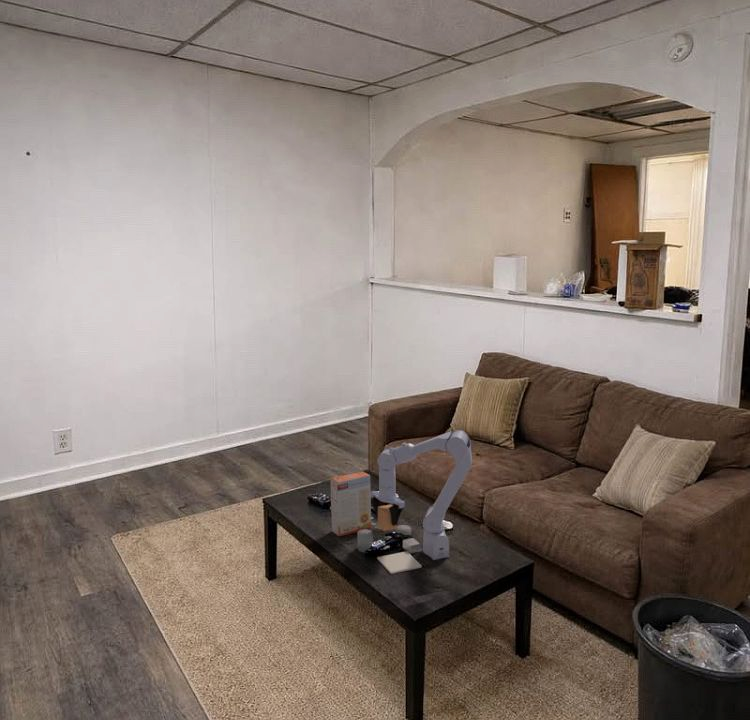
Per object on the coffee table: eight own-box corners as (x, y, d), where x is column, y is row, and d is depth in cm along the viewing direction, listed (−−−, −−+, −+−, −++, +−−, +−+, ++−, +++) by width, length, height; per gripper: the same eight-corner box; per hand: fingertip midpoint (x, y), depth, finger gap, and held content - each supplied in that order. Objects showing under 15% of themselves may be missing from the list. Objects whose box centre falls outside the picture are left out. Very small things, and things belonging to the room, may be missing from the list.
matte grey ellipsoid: (414, 536, 227) (414, 530, 226) (399, 539, 224) (399, 533, 224) (406, 530, 232) (406, 523, 232) (392, 533, 230) (392, 526, 229)
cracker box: (363, 522, 238) (363, 470, 235) (371, 528, 233) (371, 475, 230) (330, 531, 231) (329, 477, 227) (338, 537, 226) (337, 482, 222)
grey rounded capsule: (374, 550, 216) (374, 534, 215) (360, 553, 214) (360, 537, 213) (369, 544, 220) (369, 528, 219) (355, 547, 218) (355, 530, 217)
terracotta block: (396, 528, 217) (396, 509, 216) (383, 531, 215) (383, 511, 214) (390, 523, 221) (390, 504, 220) (377, 525, 219) (377, 506, 218)
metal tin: (419, 551, 215) (419, 543, 215) (409, 554, 213) (409, 546, 213) (412, 545, 220) (412, 537, 219) (402, 548, 218) (402, 540, 217)
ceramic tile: (421, 567, 204) (421, 565, 204) (390, 574, 200) (390, 572, 200) (406, 552, 214) (406, 551, 214) (377, 558, 210) (377, 557, 210)
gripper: (410, 486, 213) (410, 524, 216) (380, 476, 223) (380, 512, 226) (396, 492, 208) (396, 530, 211) (366, 481, 218) (366, 518, 221)
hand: (387, 521), depth 218 cm, fingers closed on terracotta block, 6 cm apart
